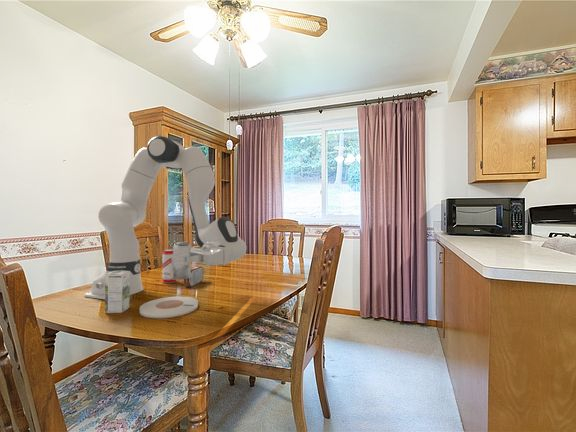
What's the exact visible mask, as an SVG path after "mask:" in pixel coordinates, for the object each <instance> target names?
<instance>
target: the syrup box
mask: <svg viewBox="0 0 576 432" xmlns="http://www.w3.org/2000/svg"><path fill="white" fill-rule="evenodd" d="M130 299H131V295H130V271H123V270H119V271H113V272H110V273H108V274H106V275H105V299H104V301H105V302H104V307H105V308H104V309H105V311H104V313H105V314H115V313H118V314H120V313H124V312H125V311H127V310H128V309H129V308H131V305H130V304H131V301H130Z"/></svg>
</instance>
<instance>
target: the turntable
mask: <svg viewBox="0 0 576 432" xmlns="http://www.w3.org/2000/svg"><path fill="white" fill-rule="evenodd" d="M198 306H199V300H197V298H194V297H192V296H191V297H189V296H166V297H160V298H157V299H156V298H155V299H153V300H150V301H146V302H145V303H143V304H142V305H140V306H139V315H140V316H142V317H144V318H147V319H168V318H169V319H170V318H176V317H180V316H181V317H182V316H185V315H187V314H190V313H192V312H194V311H195V310H197V309H198Z"/></svg>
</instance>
